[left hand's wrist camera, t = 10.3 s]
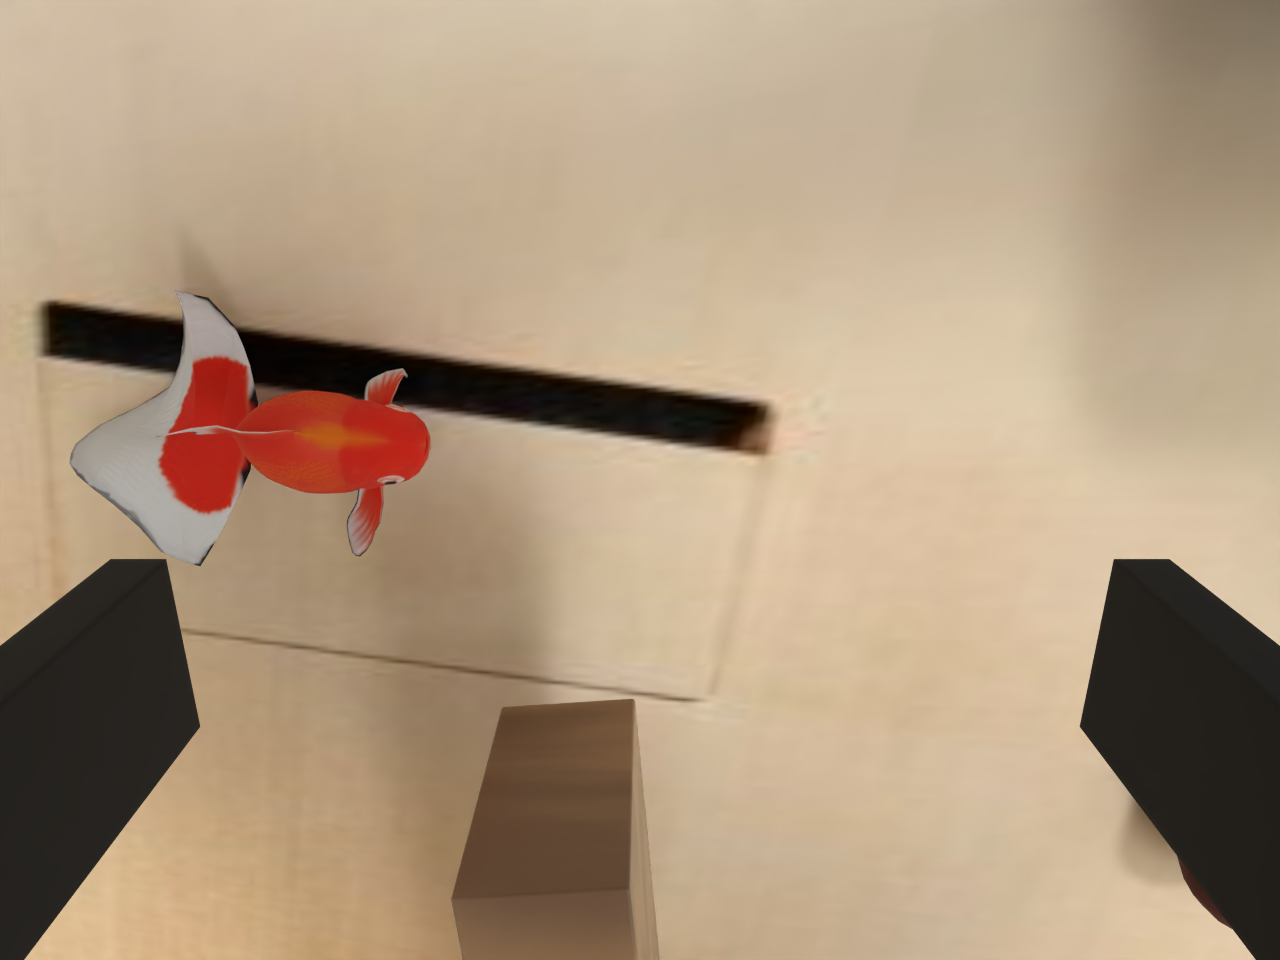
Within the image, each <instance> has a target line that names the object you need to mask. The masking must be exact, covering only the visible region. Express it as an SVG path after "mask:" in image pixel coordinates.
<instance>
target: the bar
mask: <svg viewBox="0 0 1280 960" xmlns="http://www.w3.org/2000/svg"><path fill="white" fill-rule="evenodd" d="M451 900H452V905H453V910H454V916H455V921H456V926H457V931H458V936H459V942H460V947H461V952H462V957H463V960H660V959H659V948H658V938H657V927H656V917H655V906H654V896H653V885H652V875H651V865H650V854H649V844H648V833H647V823H646V812H645V802H644V792H643V781H642V771H641V760H640V750H639V739H638V729H637V719H636V708H635V701H634V699H622V700H607V701H591V702H576V703H560V704H545V705H529V706H514V707H503V708H502V710H501V714H500V717H499V721H498V725H497V729H496V732H495V736H494V740H493V744H492V747H491V751H490V755H489V759H488V763H487V766H486V770H485V774H484V778H483V781H482V785H481V789H480V793H479V796H478V800H477V804H476V808H475V811H474V815H473V819H472V823H471V827H470V830H469V834H468V838H467V842H466V845H465V849H464V853H463V857H462V860H461V864H460V868H459V872H458V876H457V879H456V883H455V887H454V891H453V894H452V898H451Z"/></svg>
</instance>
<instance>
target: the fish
mask: <svg viewBox="0 0 1280 960" xmlns="http://www.w3.org/2000/svg"><path fill="white" fill-rule="evenodd" d="M175 292H176V294H177V296H178V298H179V300H180V303H181V306H182V309H183V329H184V337H183V344H182V351H181V358H180V363H179V366H178V368H177V371H176V374H175V376H174V379H173V381H172V384H171V386H170V387H169V388H167V389H166V390H164V391H163V392H161V393H159V394H158V395H156V396H155V397H153V398H152V399H150V400H148V401H147V402H145V403H143V404H142V405H140V406H139V407H137V408H135V409H133V410H131V411H128V412H126V413H124V414H122V415H119V416H117V417H115V418H113V419H111V420H109V421H107V422H105V423H103V424H101V425H99V426H98V427H96V428H95V429H94V430H92V431H91V432H90V433H89V434H87V435H86V436H85V437H84V438H82V439H81V440H80V441H79V442H78V443H76V444H75V447H74V449H73V451H72V453H71V458H70V465H71V466H72V468H73V469H74V471H75V472H76V474H77V475H78V476H79V477H80V478H81V479H82V480H84V481H85V482H86V483H87V484H88V485H89V486H90V487H92V488H93V489H94V490H96V491H97V492H98V493H100V494H101V495H102V496H103V497H105V498H106V499H107V500H109V501H110V502H111V503H113V504H114V505H115V506H116V507H117V508H118V509H119V510H121V511H122V512H123V513H124V514H125V515H126V516H127V517H129V518H130V519H131V520H132V521H133V522H134V523H135V524H137V525H138V526H139V527H140V528H141V529H142V531H143V532H144V533H145V534H146V535H147V536H148V537H149V538H150V540H151V541H152V542H153V543H154V544H155V545H156V546H157V548H158V549H159V550H160V551H161V552H163V553H166V554H168V555H170V556H172V557H175V558H177V559H179V560H182V561H184V562H186V563H189V564H193V565H197V566H201V564H202V563H203V561H204V559H205V558H206V556H207V555H208V553H209V551H210V550H211V548H212V546H213V545H214V543H215V541H216V540H217V538H218V536H219V534H220V533H221V531H222V529H223V528H224V526H225V524H226V522H227V520H228V518H229V515H230V513H231V511H232V509H233V507H234V505H235V503H236V501H237V498H238V496H239V494H240V492H241V490H242V487H243V485H244V483H245V481H246V479H247V476H248V474H249V472H250V468H251V464H252V465H253V466H254V467H255V468H256V469H257V470H258V471H259V472H260V473H262V474H263V475H264V476H266V477H267V478H269V479H271V480H273V481H275V482H277V483H280V484H282V485H285V486H287V487H290V488H293V489H295V490H298V491H302V492H306V493H345V492H351V491H354V490H358V497H357V502H356V504H355V506H354V508H353V510H352V512H351V513H350V515H349V517H348V520H347V531H348V537H349V542H350V546H351V549H352V553H353V554H355V555H356V556H361V555H362V554H363V553H364V552H365V551H366V550H367V549H368V547H369V545H370V544H371V542H372V540H373V537H374V534H375V531H376V529H377V527H378V526H379V524H380V521H381V515H382V509H383V486H384V485H387V484H395V483H398V482H403V481H406V480H409V479H410V478H412V477H414V476H415V475H416V474H418V473H419V472H420V470H421V469H422V467H423V466H424V464H425V463H426V461H427V460H428V456H429V453H430V449H431V444H430V435H429V432H428V430H427V427H426V425H425V424H424V422H423V421H422V420H421V419H420V418H418V417H417V416H416V415H415V414H413V413H412V412H410V411H409V410H407V409H406V408H405V407H403V406H400V405H396V404H391V403H392V400H393V397H394V395H395V393H396V391H397V388H398V385H399V383H400V381H401V379H402V378H403V376H405V377H406V378H408V376H407V374H406V372H405V371H404V369H403V368H401V369H396V370H391V371H387V372H384V373H382V374H380V375H378V376H376V377H374V378H372V379H371V380H369V381H368V382H367V383H366V386H365V391H364V400H357V399H355V398H352V397H350V396H347V395H344V394H339V393H332V392H323V391H298V392H293V393H288V394H284V395H280V396H277V397H275V398H273V399H270V400H268V401H266V402H264V403H262V404H261V405H259V406H258V401H257V396H256V391H255V386H254V382H253V377H252V372H251V368H250V364H249V361H248V358H247V355H246V352H245V350H244V347H243V344H242V342H241V340H240V338H239V335H238V333H237V331H236V329H235V326H234V325H233V324H232V323H231V322H230V321H229V320H228V319H227V317H226V316H225V315H224V314H223V313H222V312H221V311H220V310H219V309H218V308H217V307H216V306H215V305H214V303H213V302H212V301H211V300H210V299H209V298H206V297H202V296H197V295H193V294H188V293H184V292H179V291H175Z"/></svg>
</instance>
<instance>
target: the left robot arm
mask: <svg viewBox="0 0 1280 960" xmlns="http://www.w3.org/2000/svg"><path fill="white" fill-rule="evenodd" d="M199 728H200V723H199V718H198V714H197V709H196V704H195V699H194V694H193V689H192V684H191V679H190V674H189V669H188V664H187V660H186V655H185V650H184V645H183V640H182V635H181V630H180V625H179V620H178V615H177V610H176V606H175V601H174V596H173V591H172V586H171V581H170V576H169V571H168V566H167V561H166V559H110V560H109V561H108V562H107V563H105V564H104V565H103V566H101V567H100V568H99V569H98V570H96V571H95V572H94V573H93V574H91V575H90V576H89V577H87V578H86V579H85V580H84V581H82V582H81V583H80V584H79V585H77V586H76V587H75V588H73V589H72V590H71V591H70V592H68V593H67V594H66V595H64V596H63V597H62V598H61V599H59V600H58V601H57V602H56V603H54V604H53V605H52V606H50V607H49V608H48V609H47V610H45V611H44V612H43V613H42V614H40V615H39V616H38V617H36V618H35V619H34V620H33V621H31V622H30V623H29V624H27V625H26V626H25V627H24V628H22V629H21V630H20V631H19V632H17V633H16V634H15V635H13V636H12V637H11V638H10V639H8V640H7V641H6V642H5V643H3V644H2V645H1V646H0V960H24V959H25V958H26V957H27V955H28V954H29V953H30V951H31V950H32V949H33V947H34V946H35V945H36V943H37V942H38V941H39V939H40V938H41V937H42V935H43V934H44V933H45V931H46V930H47V929H48V927H49V926H50V925H51V923H52V922H53V921H54V919H55V918H56V917H57V916H58V914H59V913H60V912H61V910H62V909H63V908H64V906H65V905H66V904H67V902H68V901H69V900H70V898H71V897H72V896H73V894H74V893H75V892H76V890H77V889H78V888H79V886H80V885H81V884H82V882H83V881H84V880H85V878H86V877H87V876H88V874H89V873H90V872H91V870H92V869H93V868H94V867H95V865H96V864H97V863H98V861H99V860H100V859H101V857H102V856H103V855H104V853H105V852H106V851H107V849H108V848H109V847H110V845H111V844H112V843H113V841H114V840H115V839H116V837H117V836H118V835H119V833H120V832H121V831H122V829H123V828H124V827H125V825H126V824H127V823H128V822H129V820H130V819H131V818H132V816H133V815H134V814H135V812H136V811H137V810H138V808H139V807H140V806H141V804H142V803H143V802H144V800H145V799H146V798H147V796H148V795H149V794H150V792H151V791H152V790H153V788H154V787H155V786H156V784H157V783H158V782H159V780H160V779H161V778H162V776H163V775H164V774H165V773H166V771H167V770H168V769H169V767H170V766H171V765H172V763H173V762H174V761H175V759H176V758H177V757H178V755H179V754H180V753H181V751H182V750H183V749H184V747H185V746H186V745H187V743H188V742H189V741H190V739H191V738H192V737H193V735H194V734H195V733H196V731H197V730H198V729H199ZM1080 728H1081V729H1082V730H1083V731H1084V733H1085V734H1086V735H1087V737H1088V738H1089V739H1090V741H1091V742H1092V743H1093V745H1094V746H1095V747H1096V749H1097V750H1098V751H1099V753H1100V754H1101V755H1102V757H1103V758H1104V759H1105V761H1106V762H1107V763H1108V765H1109V766H1110V767H1111V769H1112V770H1113V771H1114V773H1115V774H1116V775H1117V777H1118V778H1119V779H1120V780H1121V782H1122V783H1123V784H1124V786H1125V787H1126V788H1127V790H1128V791H1129V792H1130V794H1131V795H1132V796H1133V798H1134V799H1135V800H1136V802H1137V803H1138V804H1139V806H1140V807H1141V808H1142V810H1143V811H1144V812H1145V814H1146V815H1147V816H1148V818H1149V819H1150V820H1151V822H1152V823H1153V824H1154V825H1155V827H1156V828H1157V829H1158V831H1159V832H1160V833H1161V835H1162V836H1163V837H1164V839H1165V840H1166V841H1167V843H1168V844H1169V845H1170V847H1171V848H1172V849H1173V851H1174V852H1175V853H1176V855H1177V856H1178V857H1179V859H1180V860H1181V861H1182V863H1183V864H1184V865H1185V867H1186V868H1187V869H1188V870H1189V872H1190V873H1191V874H1192V876H1193V877H1194V878H1195V880H1196V881H1197V882H1198V884H1199V885H1200V886H1201V888H1202V889H1203V890H1204V892H1205V893H1206V894H1207V896H1208V897H1209V898H1210V900H1211V901H1212V902H1213V904H1214V905H1215V906H1216V908H1217V909H1218V910H1219V912H1220V913H1221V914H1222V916H1223V917H1224V918H1225V919H1226V921H1227V922H1228V923H1229V925H1230V926H1231V927H1232V929H1233V930H1234V931H1235V933H1236V934H1237V935H1238V937H1239V938H1240V939H1241V941H1242V942H1243V943H1244V945H1245V946H1246V947H1247V949H1248V950H1249V951H1250V953H1251V954H1252V955H1253V957H1254V958H1255V959H1256V960H1280V646H1279V645H1278V644H1277V643H1275V642H1274V641H1273V640H1272V639H1270V638H1269V637H1268V636H1267V635H1265V634H1264V633H1263V632H1261V631H1260V630H1259V629H1258V628H1256V627H1255V626H1254V625H1253V624H1251V623H1250V622H1249V621H1247V620H1246V619H1245V618H1244V617H1242V616H1241V615H1240V614H1238V613H1237V612H1236V611H1235V610H1233V609H1232V608H1231V607H1230V606H1228V605H1227V604H1226V603H1224V602H1223V601H1222V600H1221V599H1219V598H1218V597H1217V596H1216V595H1214V594H1213V593H1212V592H1210V591H1209V590H1208V589H1207V588H1205V587H1204V586H1203V585H1201V584H1200V583H1199V582H1198V581H1196V580H1195V579H1194V578H1193V577H1191V576H1190V575H1189V574H1187V573H1186V572H1185V571H1184V570H1182V569H1181V568H1180V567H1179V566H1177V565H1176V564H1175V563H1173V562H1172V561H1171V560H1170V559H1114V561H1113V566H1112V571H1111V576H1110V581H1109V586H1108V591H1107V596H1106V601H1105V606H1104V610H1103V615H1102V620H1101V625H1100V630H1099V635H1098V640H1097V645H1096V650H1095V655H1094V660H1093V664H1092V669H1091V674H1090V679H1089V684H1088V689H1087V694H1086V699H1085V704H1084V709H1083V713H1082V718H1081V723H1080Z"/></svg>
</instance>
